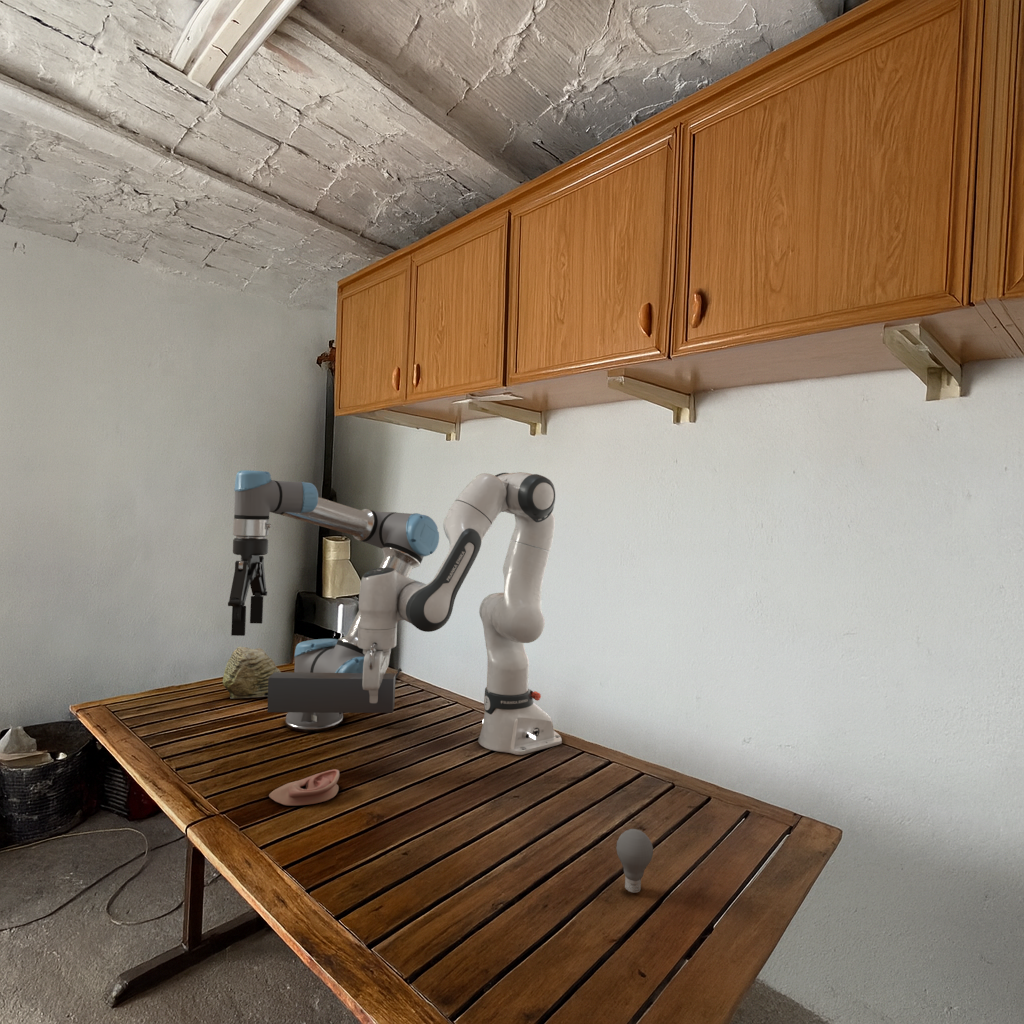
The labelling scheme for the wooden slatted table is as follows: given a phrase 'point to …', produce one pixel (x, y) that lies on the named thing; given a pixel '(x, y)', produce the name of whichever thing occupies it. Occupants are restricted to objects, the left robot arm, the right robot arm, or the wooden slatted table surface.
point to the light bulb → (634, 857)
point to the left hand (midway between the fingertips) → (247, 629)
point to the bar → (327, 693)
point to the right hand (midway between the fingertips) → (375, 698)
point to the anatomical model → (308, 789)
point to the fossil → (248, 673)
